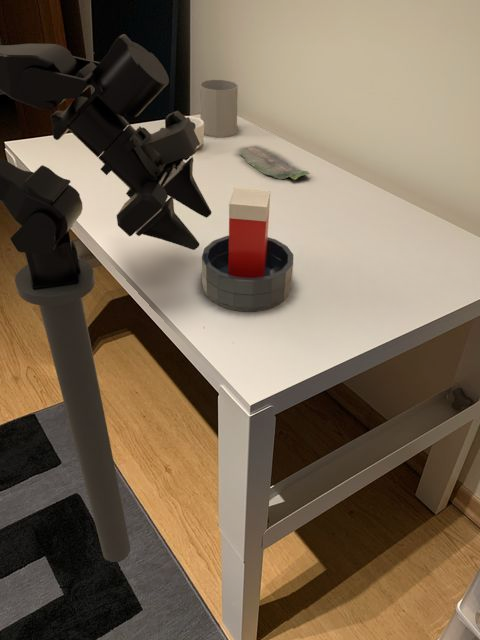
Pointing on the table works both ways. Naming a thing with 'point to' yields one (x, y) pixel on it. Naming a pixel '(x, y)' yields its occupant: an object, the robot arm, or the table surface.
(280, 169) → the leaf
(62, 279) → the robot arm
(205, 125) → the cup
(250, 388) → the table surface
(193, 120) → the teacup
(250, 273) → the soup carton
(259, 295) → the pot
